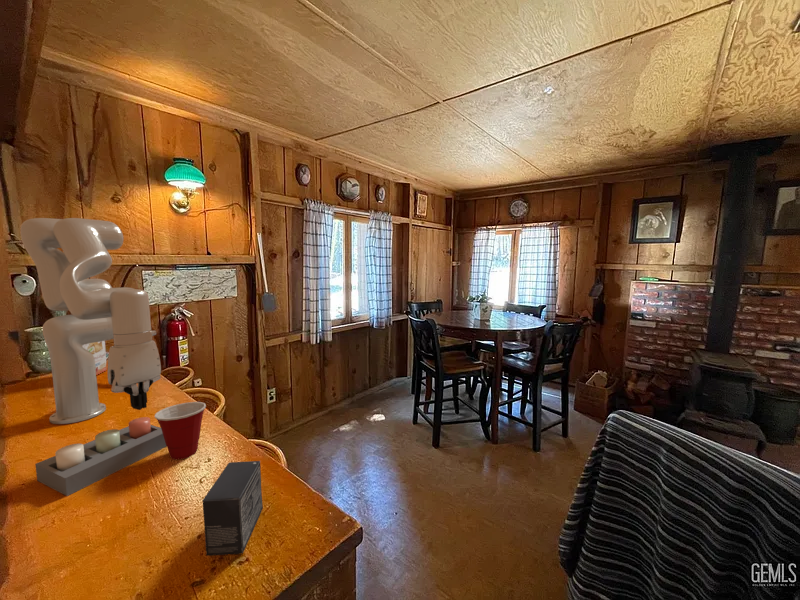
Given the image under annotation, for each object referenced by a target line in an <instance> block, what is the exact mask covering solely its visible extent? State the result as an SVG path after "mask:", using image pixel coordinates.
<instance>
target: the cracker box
mask: <svg viewBox="0 0 800 600" xmlns="http://www.w3.org/2000/svg"><path fill="white" fill-rule="evenodd" d="M82 347H83V348H84V349H86V350H87V351H89V352H90V353H91V354H92V355H93V356H94V359H95V367H96V375H97V376H99V375H101V374H103V373H105V372H107V371H108V364H107V353H106V341H100V342H94V343H89V344H84V345H82ZM106 370H107V371H106ZM104 371H105V372H104ZM102 372H103V373H102ZM100 373H101V374H100ZM98 374H99V375H98Z"/></svg>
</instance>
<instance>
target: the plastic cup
mask: <svg viewBox="0 0 800 600" xmlns="http://www.w3.org/2000/svg"><path fill="white" fill-rule="evenodd" d="M206 407H207V405H206V403H205V402H201V401H190V402H188V401H187V402H183V403H177V404H174V405H171V406H166V407H165V408H162V409H160V410H159V411H157V412H156V413H154V418H155V419H156V420H157V422H158V424H159V427H160V428H161V429H162V433H163V436H164V439H165V443H166V446H167V447H166V448H167V450H168V455H169V457H170V458H171V460H175V461H176V460H177V461H178V460H184V459H188V458H190V457H192V456H194V455H195V454H196V452H198V449H199V442H200V440H199V439H200V438H201V437H200V435H201V429H202V421H203V417H204V416H203V415H204V412H205V409H206Z"/></svg>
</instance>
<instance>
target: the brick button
mask: <svg viewBox="0 0 800 600" xmlns="http://www.w3.org/2000/svg"><path fill="white" fill-rule="evenodd" d="M151 425H152V424H151V417H148V416H145V417H144V416H143V417H138V418H135V419H132V420H130V421H129V422H128V426H129V434H130V438H133V439H137V438H139V437H142V436H144V435H146V434H149V433H151Z"/></svg>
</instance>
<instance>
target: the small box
mask: <svg viewBox="0 0 800 600" xmlns="http://www.w3.org/2000/svg"><path fill="white" fill-rule="evenodd" d="M262 492H263V491H262V473H261V460H253V461H251V460H250V461H249V460H248V461H231V462H228V463H227V465H226V466H225V468H224V469H223V471H222V472H221V473H220V475H219V476H218V477H217V479H216V481H215V482H214V483H213V485H212V486H211V487H210V489H209V490H208V492H207V493H206V495H205V496H204V498H203V499H202V512H203V524H204V525H203V526H204V538H205V539H204V540H205V552H206V553H205V554H206V557H207V556H229V555H228V554H230V555H242V554H243V553H244V552H245V550H246V549H247V546H248V543H249V540H250V539H251V536H252V534H253V532H254V529H255V527H256V525H257V523H258V520H259V518H260V516H261V514H262V511H263V509H264V506H263V505H264V504H263V497H262V496H263V495H262V494H263V493H262ZM241 553H242V554H241Z"/></svg>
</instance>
